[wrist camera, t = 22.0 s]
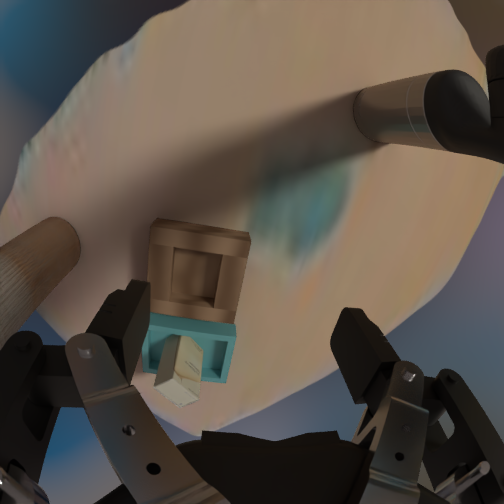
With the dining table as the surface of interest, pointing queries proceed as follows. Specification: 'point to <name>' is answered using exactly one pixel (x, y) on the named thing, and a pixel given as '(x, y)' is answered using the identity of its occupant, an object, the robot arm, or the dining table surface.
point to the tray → (202, 332)
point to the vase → (33, 270)
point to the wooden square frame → (196, 270)
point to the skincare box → (180, 370)
